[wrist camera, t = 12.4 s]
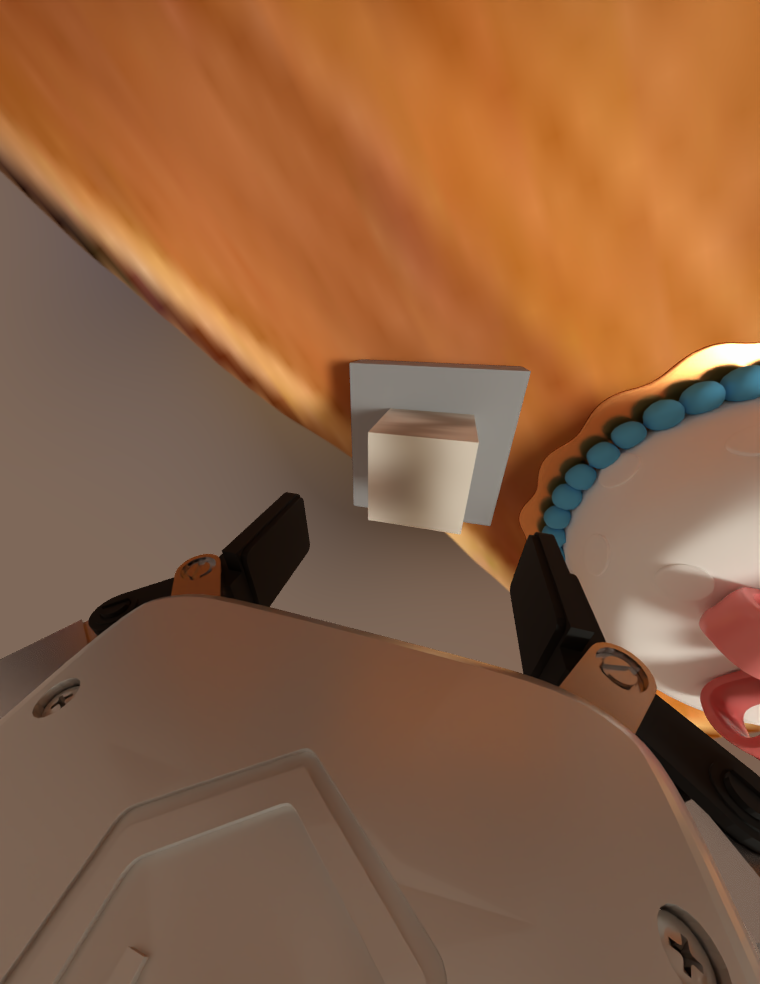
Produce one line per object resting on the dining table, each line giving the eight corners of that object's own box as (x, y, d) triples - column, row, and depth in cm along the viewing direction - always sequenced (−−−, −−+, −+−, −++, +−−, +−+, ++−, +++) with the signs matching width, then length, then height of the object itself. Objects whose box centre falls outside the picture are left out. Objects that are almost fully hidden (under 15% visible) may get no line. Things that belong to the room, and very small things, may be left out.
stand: (521, 366, 20) (530, 371, 18) (487, 507, 26) (490, 526, 24) (361, 359, 23) (349, 362, 20) (363, 490, 29) (353, 505, 26)
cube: (474, 414, 20) (478, 442, 15) (460, 489, 23) (460, 534, 18) (390, 408, 21) (368, 432, 16) (387, 480, 24) (368, 519, 19)
